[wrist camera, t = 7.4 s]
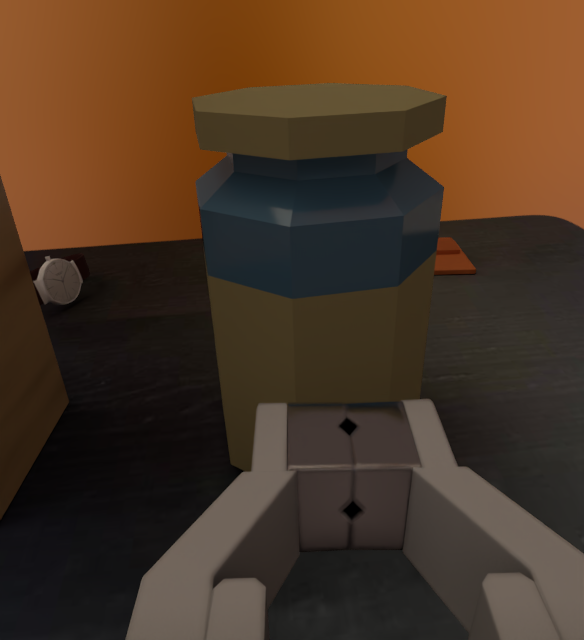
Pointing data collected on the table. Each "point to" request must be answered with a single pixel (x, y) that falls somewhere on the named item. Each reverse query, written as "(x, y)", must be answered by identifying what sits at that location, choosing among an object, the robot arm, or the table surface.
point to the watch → (60, 279)
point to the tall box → (23, 365)
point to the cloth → (451, 259)
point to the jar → (317, 244)
